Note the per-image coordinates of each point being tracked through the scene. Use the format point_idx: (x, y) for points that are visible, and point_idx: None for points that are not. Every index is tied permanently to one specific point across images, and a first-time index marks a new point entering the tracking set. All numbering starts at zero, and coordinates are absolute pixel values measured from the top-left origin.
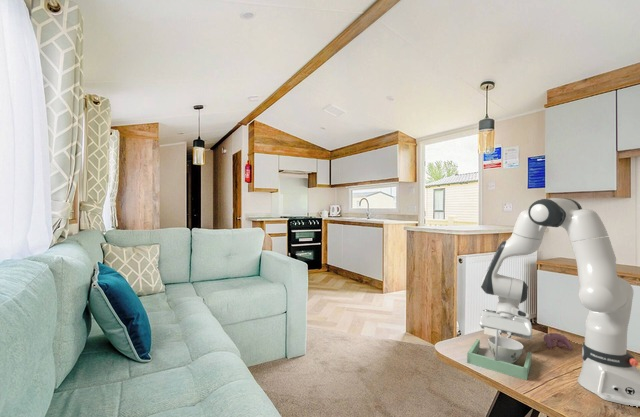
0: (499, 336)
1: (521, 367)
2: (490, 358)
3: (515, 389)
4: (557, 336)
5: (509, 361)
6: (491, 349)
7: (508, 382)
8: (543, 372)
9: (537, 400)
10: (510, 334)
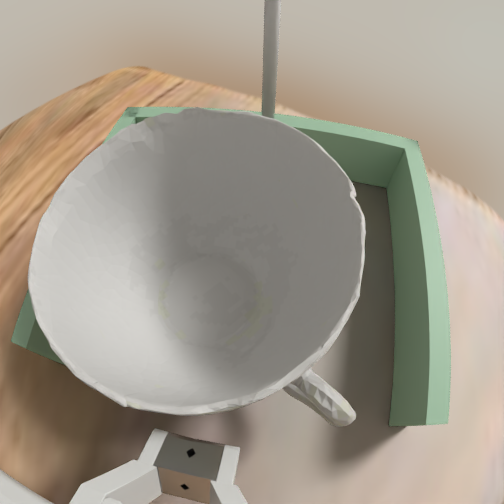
0: (236, 488)
1: (147, 110)
2: (298, 122)
3: (201, 87)
4: None
5: (184, 215)
6: (308, 200)
7: (218, 107)
8: None
9: (152, 75)
10: (81, 491)
